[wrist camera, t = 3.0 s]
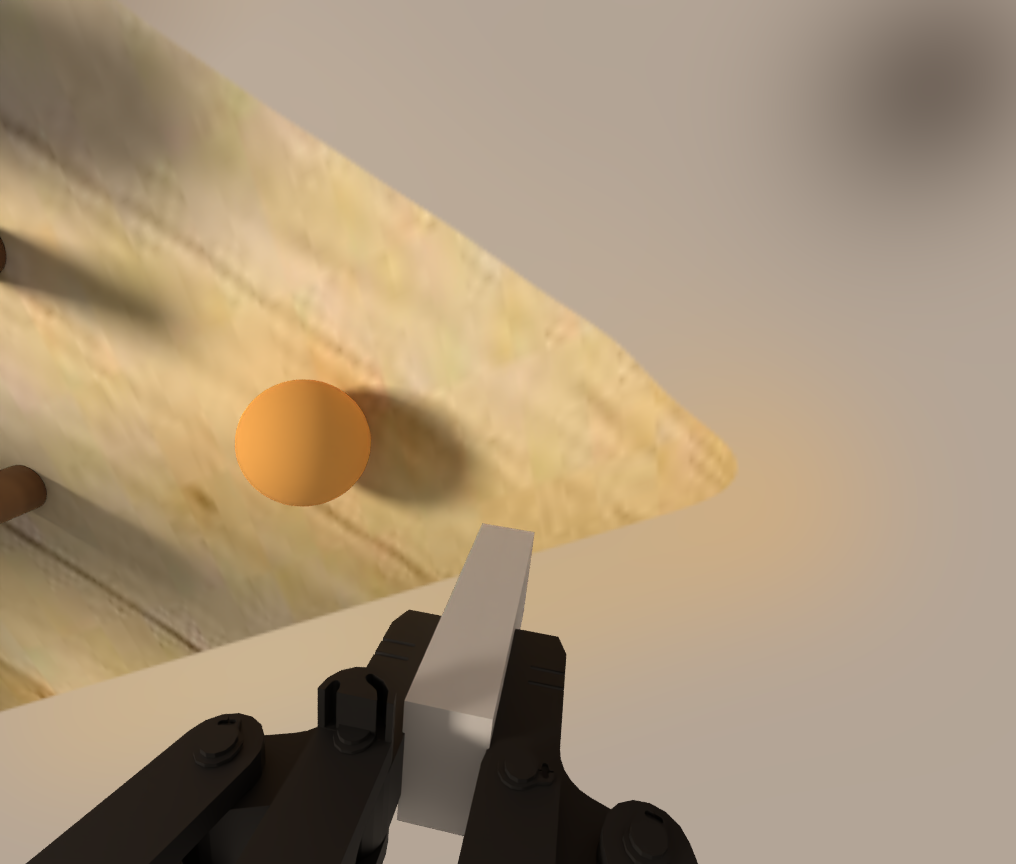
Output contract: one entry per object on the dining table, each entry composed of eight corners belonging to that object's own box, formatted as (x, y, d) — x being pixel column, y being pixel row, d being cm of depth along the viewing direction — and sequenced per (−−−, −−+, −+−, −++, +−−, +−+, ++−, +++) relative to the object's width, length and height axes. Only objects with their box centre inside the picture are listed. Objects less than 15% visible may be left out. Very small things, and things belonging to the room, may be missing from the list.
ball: (282, 469, 27) (208, 517, 22) (279, 362, 25) (199, 385, 20) (386, 486, 26) (337, 539, 21) (391, 377, 25) (338, 406, 19)
